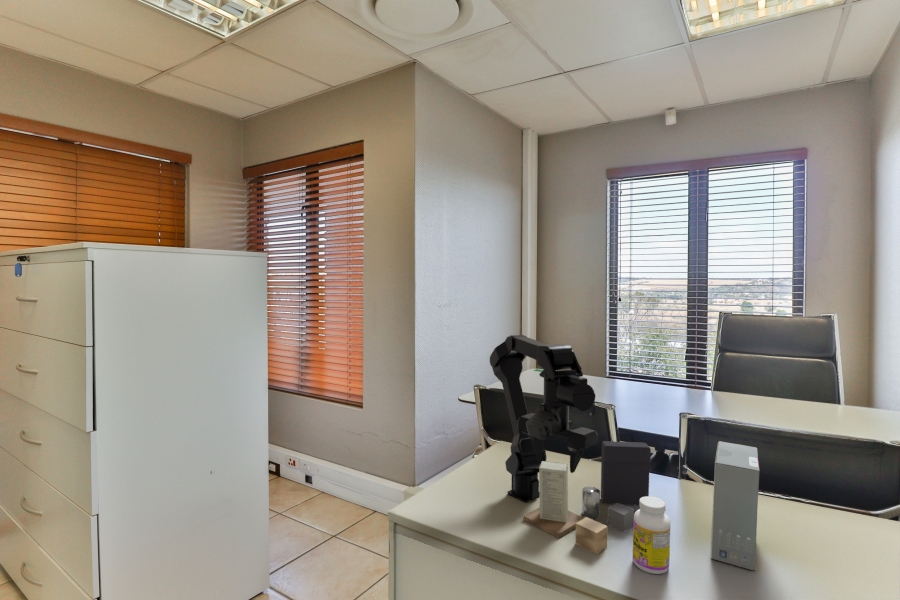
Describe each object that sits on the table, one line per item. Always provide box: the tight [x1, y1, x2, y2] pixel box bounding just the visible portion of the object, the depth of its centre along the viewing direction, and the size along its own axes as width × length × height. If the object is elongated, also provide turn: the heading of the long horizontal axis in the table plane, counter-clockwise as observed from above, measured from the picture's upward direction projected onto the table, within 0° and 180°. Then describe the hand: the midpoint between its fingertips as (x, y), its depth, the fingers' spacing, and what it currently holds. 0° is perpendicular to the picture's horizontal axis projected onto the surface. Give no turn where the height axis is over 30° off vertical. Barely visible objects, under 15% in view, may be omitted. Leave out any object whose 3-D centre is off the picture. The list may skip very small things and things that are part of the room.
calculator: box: [600, 440, 652, 506], centre depth 117 cm, size 11×4×15 cm, turn 84°
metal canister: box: [581, 486, 601, 520], centre depth 111 cm, size 4×4×6 cm
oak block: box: [575, 517, 608, 555], centre depth 99 cm, size 5×4×4 cm
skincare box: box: [538, 460, 569, 522], centre depth 108 cm, size 6×4×12 cm
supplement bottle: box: [632, 495, 671, 575], centre depth 92 cm, size 7×7×13 cm
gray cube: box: [607, 503, 634, 533], centre depth 106 cm, size 4×4×4 cm
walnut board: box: [522, 506, 585, 539], centre depth 108 cm, size 10×10×1 cm
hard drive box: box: [710, 440, 760, 571], centre depth 98 cm, size 16×8×20 cm, turn 148°
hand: (555, 466), depth 108 cm, fingers open, 9 cm apart
